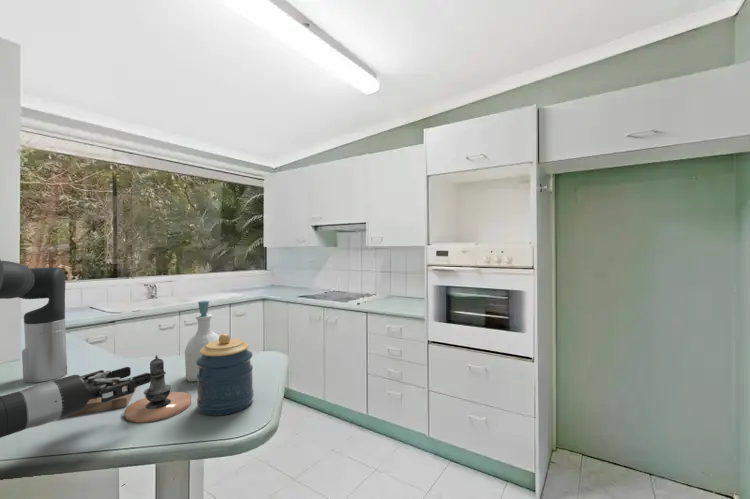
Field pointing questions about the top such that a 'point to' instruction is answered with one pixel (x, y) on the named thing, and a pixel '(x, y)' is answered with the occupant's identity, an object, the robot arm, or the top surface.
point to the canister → (224, 377)
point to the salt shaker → (157, 386)
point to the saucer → (142, 414)
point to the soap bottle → (198, 341)
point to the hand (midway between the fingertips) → (139, 373)
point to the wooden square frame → (106, 404)
